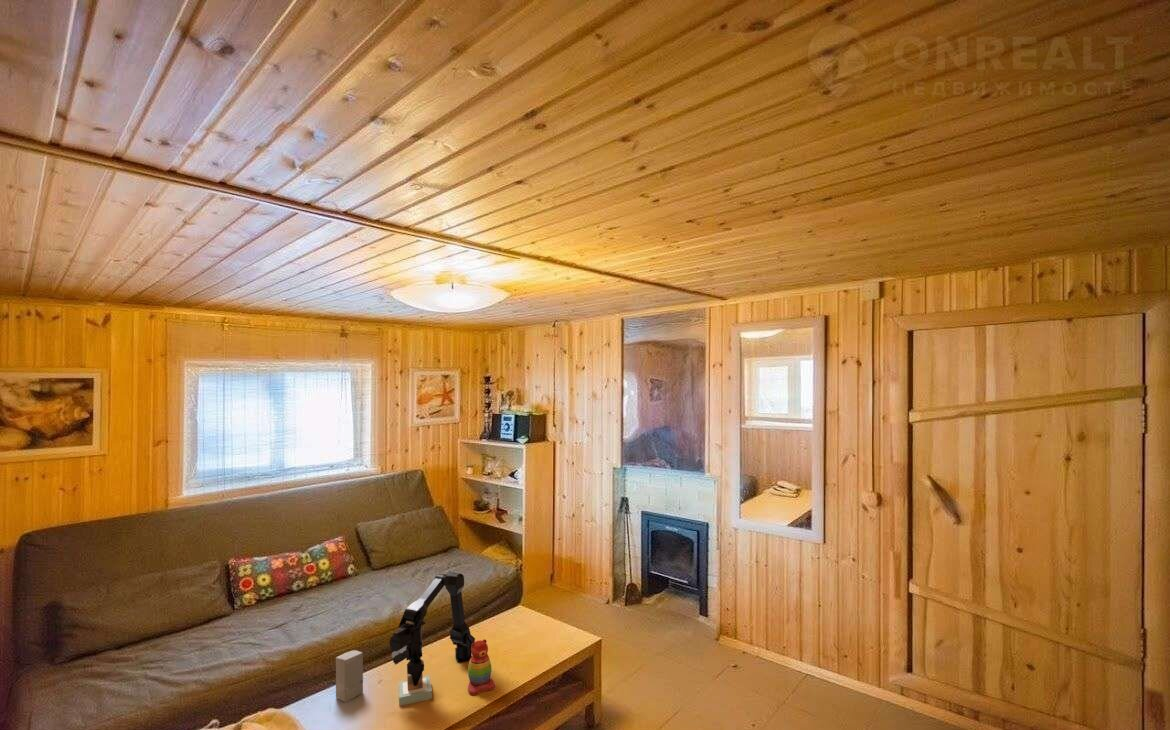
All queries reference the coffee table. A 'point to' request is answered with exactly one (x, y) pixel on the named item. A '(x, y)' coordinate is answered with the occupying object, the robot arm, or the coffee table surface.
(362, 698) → the coffee table surface
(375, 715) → the coffee table surface
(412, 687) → the walnut cube
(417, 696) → the base slab
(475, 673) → the stacking bear
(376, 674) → the coffee table surface
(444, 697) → the coffee table surface
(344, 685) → the skincare box
